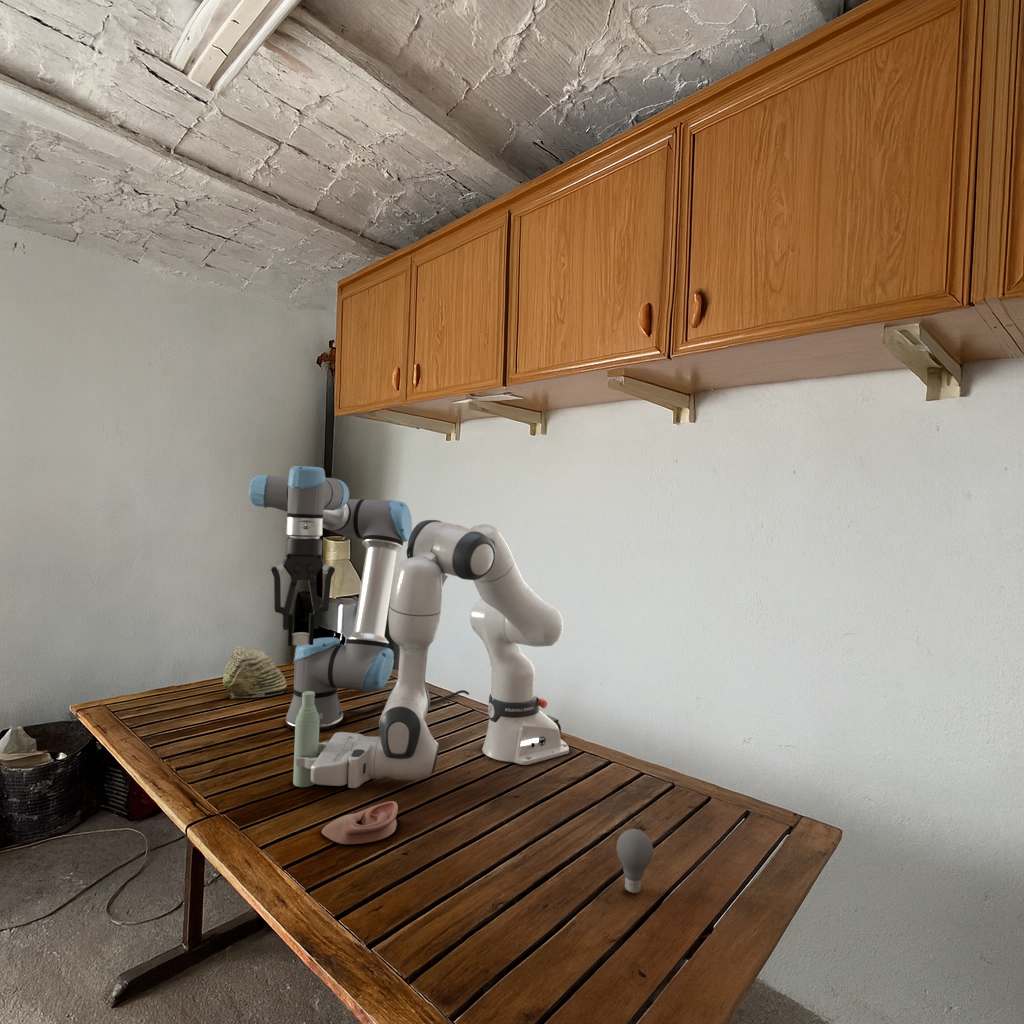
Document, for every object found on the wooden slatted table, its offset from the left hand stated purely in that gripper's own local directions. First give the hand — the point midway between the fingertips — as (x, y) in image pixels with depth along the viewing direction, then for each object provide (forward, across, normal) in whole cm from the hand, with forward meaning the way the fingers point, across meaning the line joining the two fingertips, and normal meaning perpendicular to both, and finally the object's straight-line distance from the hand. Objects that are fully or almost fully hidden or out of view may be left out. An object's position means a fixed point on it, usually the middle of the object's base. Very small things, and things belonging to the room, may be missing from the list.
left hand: (300, 643), depth 138 cm
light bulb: (+31, +49, -57) cm, 82 cm away
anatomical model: (+31, +10, -24) cm, 40 cm away
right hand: (+25, +1, +1) cm, 25 cm away
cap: (-2, 0, 0) cm, 2 cm away
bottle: (+31, +2, +1) cm, 31 cm away
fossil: (+31, -7, +67) cm, 74 cm away
